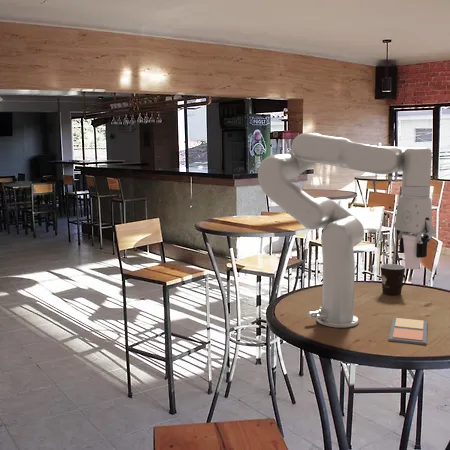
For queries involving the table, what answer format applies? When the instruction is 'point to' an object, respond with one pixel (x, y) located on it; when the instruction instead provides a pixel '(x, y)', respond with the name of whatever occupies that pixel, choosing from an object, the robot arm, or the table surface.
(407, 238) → the smoothie
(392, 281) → the coffee mug
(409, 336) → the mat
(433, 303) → the table surface
